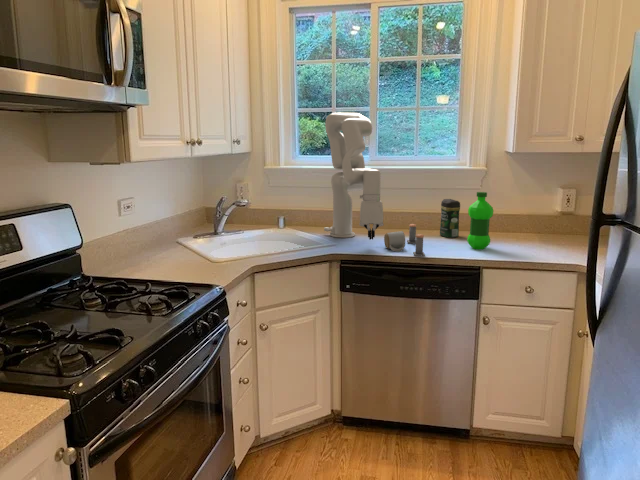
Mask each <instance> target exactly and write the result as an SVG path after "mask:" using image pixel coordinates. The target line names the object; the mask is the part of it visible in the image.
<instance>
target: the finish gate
mask: <svg viewBox="0 0 640 480" xmlns="http://www.w3.org/2000/svg"><path fill="white" fill-rule="evenodd" d="M408 235H409V237H408V239H406V242H407V244H408V245H409V244H414V245H415V251H413V252H412V255H413V254H414V255H413V256H414V257H425V256H426V254H425V252H424V234H417V224H416V223H415V224H414V223H410V224H409V234H408Z"/></svg>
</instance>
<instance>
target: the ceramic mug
mask: <svg viewBox="0 0 640 480" xmlns="http://www.w3.org/2000/svg"><path fill="white" fill-rule="evenodd" d="M383 238H384V239H383V242H384V243H383V244H384V247H385V248H386V249H387V250H391V251H393V252H396V253H398V252H402V251H403V250H404V248H406V237H405V233H404V231H403V230H402V231H392V232H386V233H384V237H383Z"/></svg>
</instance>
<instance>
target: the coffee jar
mask: <svg viewBox="0 0 640 480" xmlns="http://www.w3.org/2000/svg"><path fill="white" fill-rule="evenodd" d="M440 211H441V213H440V227H439V236H442V237H444V238H451V239H453V238H454V239H456V238H458V237H459V235H460V234H459V233H460V229H459V228H460V226H459V225H460V211H461V202H460V201H459V200H456V199H453V198H443V200H441V204H440Z"/></svg>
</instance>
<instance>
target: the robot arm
mask: <svg viewBox="0 0 640 480" xmlns="http://www.w3.org/2000/svg"><path fill="white" fill-rule="evenodd" d="M325 132H326V135H327V139H328V141H329V144H330V146H329V147H330V154H331V164H332V167H333V168H334V169H335V170H341V171H340V172H335V173H334V174H333V175H332V176H331V180H330V183H331V189H332V210H333V211H332V226H330V227H329V226H326V227H324V229H323V231H324V232H328V233H329V232H330V233H329V236H331V237H333V238H339V239H340V238H342V239H343V238H346V239H348V238H353V237H355V236H356V233H355V232H354V231H353V199H352V197H351V195H350V194H349V192H359V191H362V194H361V195H359V199H362V200H361V202H360V208H359V223H358V224H359V227H364V228H365V229H366V230H367V238H368V239H369V240H374V238H375V237H376V230H377V229H378V228H379V227H383V226H384V206H383V201H382V200H381V171H380V169H376V168H375V169H373V168H369V167H368V168H367V167H365V166H366V164H365V158H364V155H363V152H364V151H365V149H366V142H365V139H364V137H370V136H371V134H372V132H373V124H372V122H371V120H370V119H369V118H368V117H366V116H364V114H363V115H362V114H361V113H359V112H332V113H329V114H328V115H327V116H326V119H325ZM370 225H372V227H371V226H370Z"/></svg>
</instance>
